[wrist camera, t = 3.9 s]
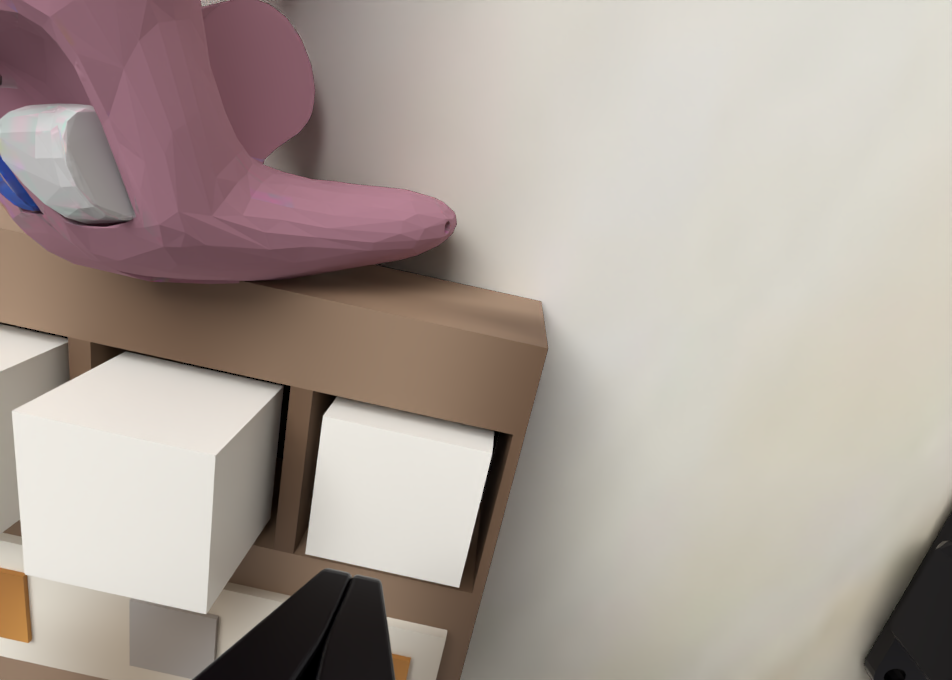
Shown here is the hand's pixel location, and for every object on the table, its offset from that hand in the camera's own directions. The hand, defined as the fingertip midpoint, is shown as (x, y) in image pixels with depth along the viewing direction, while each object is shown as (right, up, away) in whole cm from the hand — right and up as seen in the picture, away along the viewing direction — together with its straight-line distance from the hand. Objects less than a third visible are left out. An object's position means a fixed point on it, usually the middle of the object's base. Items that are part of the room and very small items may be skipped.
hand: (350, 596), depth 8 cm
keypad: (-4, +1, +6) cm, 7 cm away
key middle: (-4, +2, +3) cm, 5 cm away
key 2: (0, +1, +4) cm, 5 cm away
